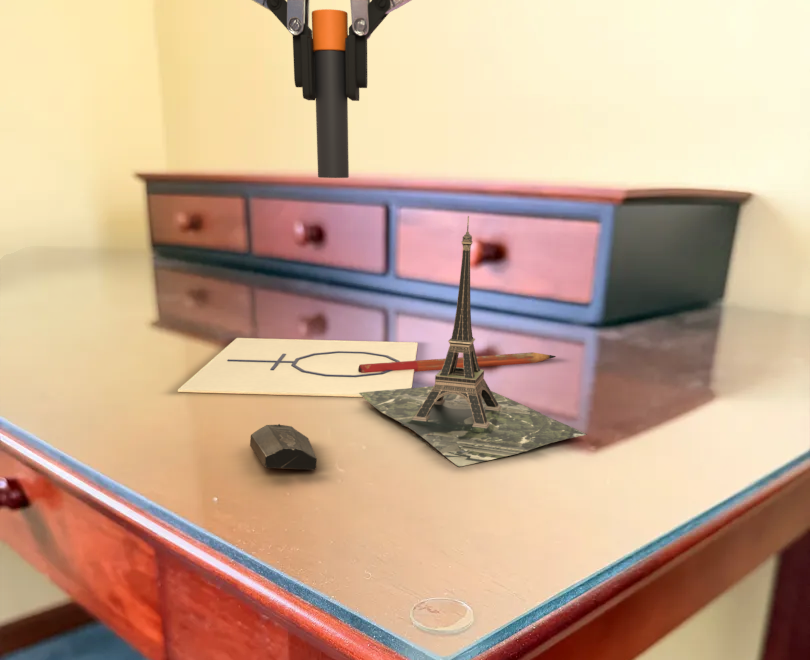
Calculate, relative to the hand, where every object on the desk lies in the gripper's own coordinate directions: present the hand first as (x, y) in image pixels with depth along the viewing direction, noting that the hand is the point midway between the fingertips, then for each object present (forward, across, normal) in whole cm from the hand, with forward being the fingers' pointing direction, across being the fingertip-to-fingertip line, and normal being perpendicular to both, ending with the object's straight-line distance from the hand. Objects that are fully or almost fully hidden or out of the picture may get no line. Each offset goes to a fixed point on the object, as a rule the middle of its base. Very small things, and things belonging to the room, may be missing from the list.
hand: (331, 96), depth 62 cm
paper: (+21, -2, +2) cm, 21 cm away
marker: (+6, 0, 0) cm, 6 cm away
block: (+21, 0, -24) cm, 32 cm away
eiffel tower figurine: (+21, +11, -14) cm, 28 cm away
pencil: (+21, +11, +2) cm, 24 cm away
